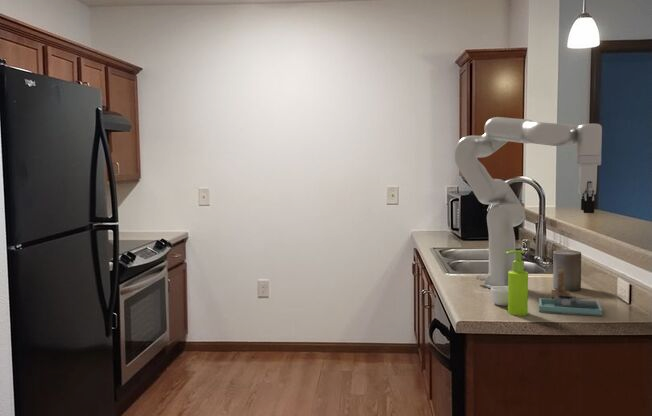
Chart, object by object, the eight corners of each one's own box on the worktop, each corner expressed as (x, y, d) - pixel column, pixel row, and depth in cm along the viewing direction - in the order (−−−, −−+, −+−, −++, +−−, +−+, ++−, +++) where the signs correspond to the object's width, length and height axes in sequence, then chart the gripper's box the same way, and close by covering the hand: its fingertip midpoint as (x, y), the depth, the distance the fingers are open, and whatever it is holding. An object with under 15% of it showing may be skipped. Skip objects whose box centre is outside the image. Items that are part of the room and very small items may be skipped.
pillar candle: (583, 287, 212) (583, 247, 211) (578, 292, 204) (578, 251, 203) (555, 284, 217) (556, 245, 216) (550, 289, 209) (550, 249, 208)
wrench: (554, 309, 180) (555, 298, 180) (553, 304, 186) (554, 294, 186) (597, 312, 176) (597, 301, 176) (594, 307, 182) (594, 296, 182)
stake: (548, 303, 189) (549, 271, 188) (547, 298, 197) (548, 266, 196) (574, 305, 187) (575, 272, 186) (572, 299, 194) (573, 268, 193)
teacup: (519, 306, 187) (519, 290, 186) (497, 308, 185) (497, 291, 185) (504, 299, 197) (504, 283, 196) (483, 300, 195) (483, 285, 195)
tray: (539, 311, 180) (539, 305, 180) (538, 303, 190) (539, 298, 190) (601, 316, 174) (602, 310, 174) (598, 307, 184) (598, 301, 183)
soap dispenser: (501, 310, 182) (502, 249, 180) (522, 310, 182) (523, 248, 180) (509, 316, 176) (510, 252, 174) (530, 315, 176) (531, 251, 175)
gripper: (574, 160, 199) (573, 209, 201) (578, 161, 183) (577, 214, 185) (598, 160, 197) (596, 209, 198) (604, 161, 180) (602, 214, 182)
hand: (587, 211), depth 191 cm, fingers open, 9 cm apart
